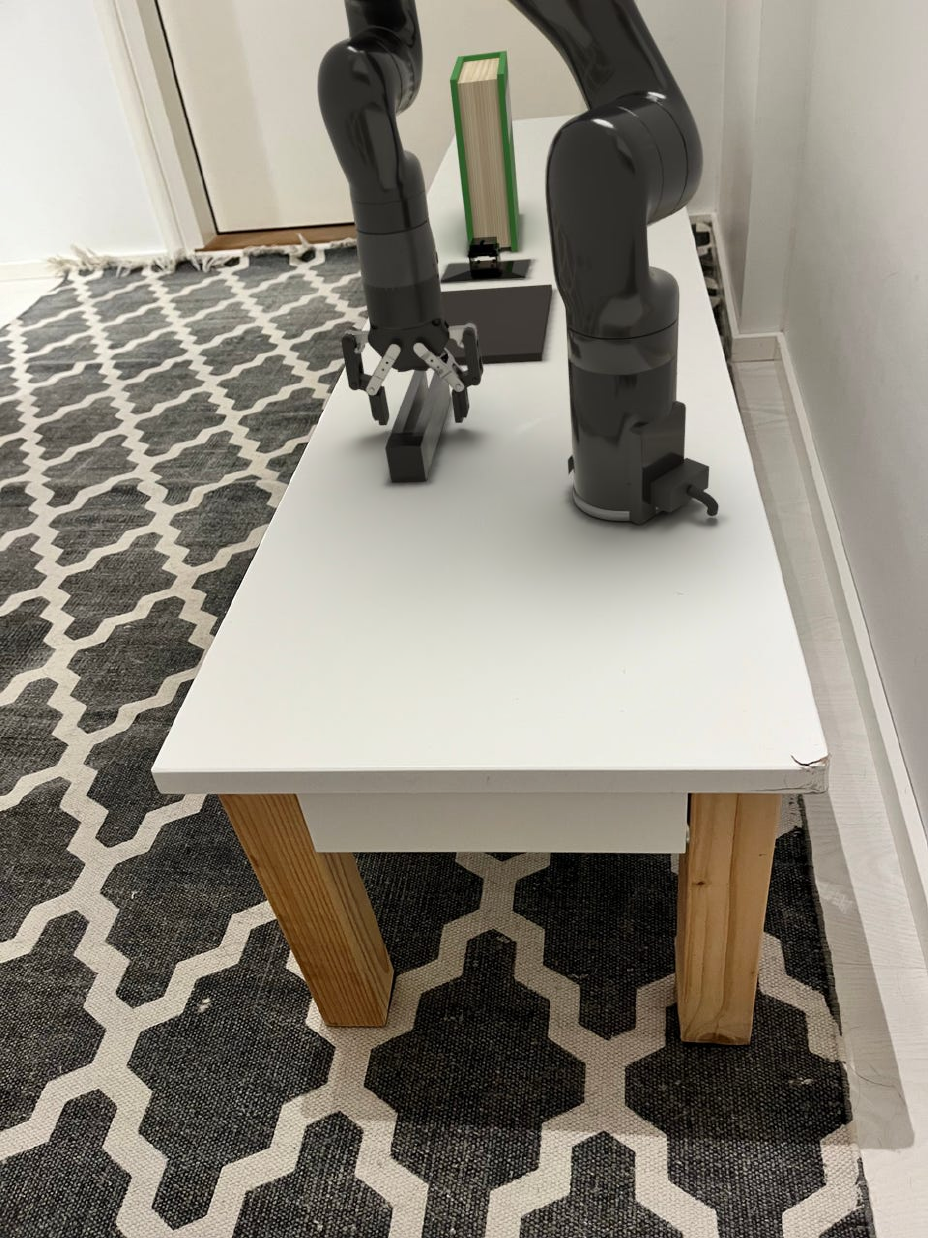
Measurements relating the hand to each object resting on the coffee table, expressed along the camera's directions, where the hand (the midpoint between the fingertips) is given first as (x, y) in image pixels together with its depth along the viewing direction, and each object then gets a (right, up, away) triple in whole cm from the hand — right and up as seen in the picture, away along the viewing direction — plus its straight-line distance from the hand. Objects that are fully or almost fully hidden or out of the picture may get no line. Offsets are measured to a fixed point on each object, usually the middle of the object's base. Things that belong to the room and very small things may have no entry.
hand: (422, 420), depth 103 cm
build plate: (+8, +29, +37) cm, 48 cm away
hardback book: (+9, +40, +50) cm, 64 cm away
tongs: (0, -1, +1) cm, 1 cm away
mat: (+7, +17, +21) cm, 28 cm away
